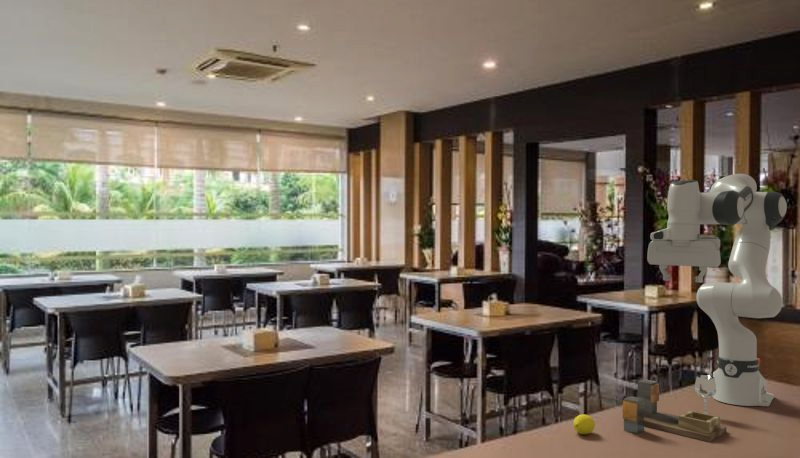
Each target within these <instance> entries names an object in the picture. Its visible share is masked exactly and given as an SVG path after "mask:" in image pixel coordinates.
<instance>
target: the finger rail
mask: <svg viewBox="0 0 800 458" xmlns="http://www.w3.org/2000/svg"><path fill="white" fill-rule="evenodd" d="M637 398H642V399H644V427H646V428H650V429H655V430H658V431H663V432H667V433H671V434H675V435H679V436H683V437H688V438H692V439H694V440H695V439H696V440H699V441H703V442H707V443H709V442H712V441H713V440H715V439H716V438H717V439H718V437H720V436H722V435H724V434H726V433H727V426H726V425H725V426H724V425H721V417H720V416H717V415H713V414H709V413H707V414H705V413H704V412H699V411H695V410H689V411H687V412H685V413H682V414H680V415H675V414H671V413H665V412H661V411H658V402H659V401H660V383H658V382H657V381H656V380H655V381H654V380H649V379H643V378H642V379H641V380H638V381H637Z"/></svg>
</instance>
